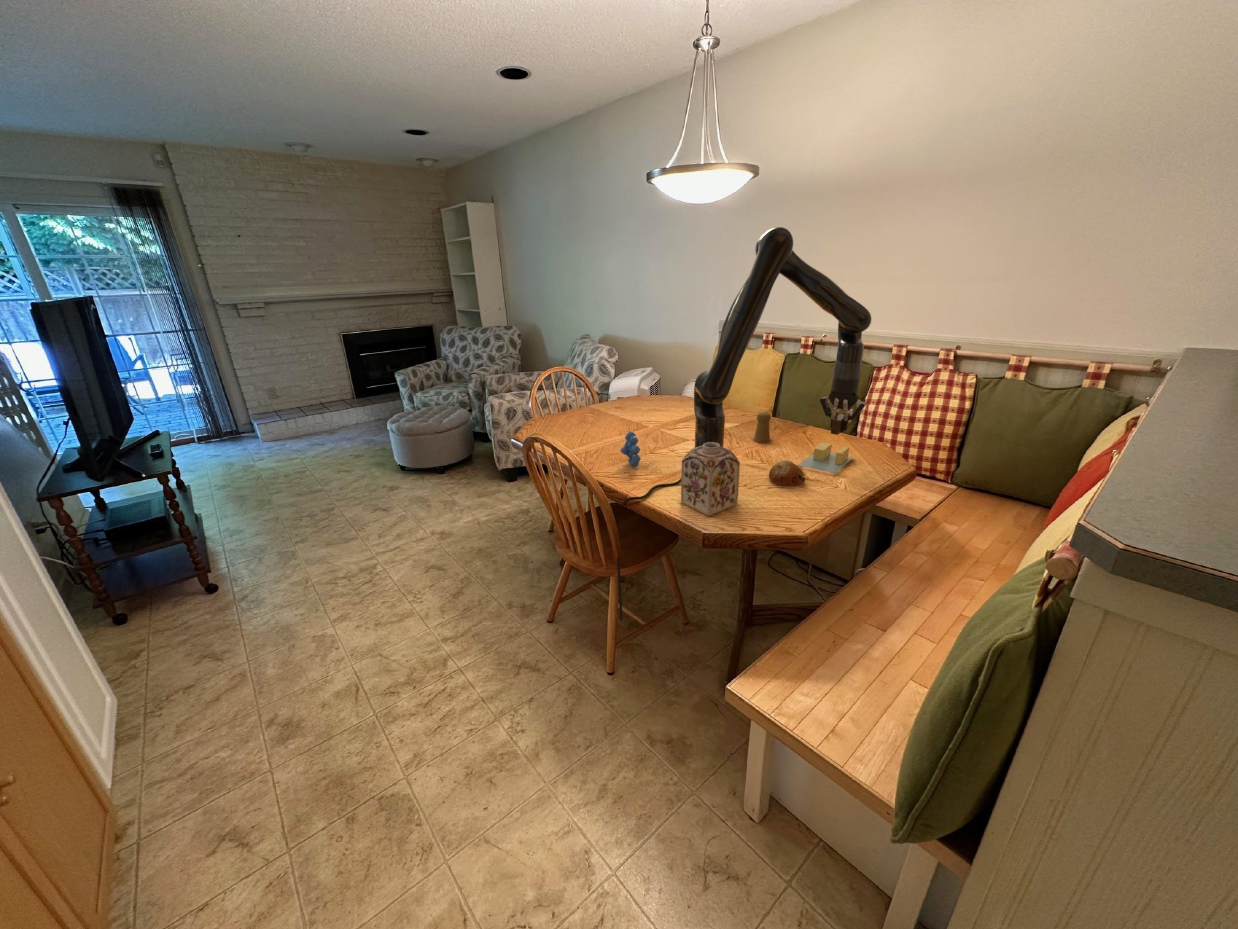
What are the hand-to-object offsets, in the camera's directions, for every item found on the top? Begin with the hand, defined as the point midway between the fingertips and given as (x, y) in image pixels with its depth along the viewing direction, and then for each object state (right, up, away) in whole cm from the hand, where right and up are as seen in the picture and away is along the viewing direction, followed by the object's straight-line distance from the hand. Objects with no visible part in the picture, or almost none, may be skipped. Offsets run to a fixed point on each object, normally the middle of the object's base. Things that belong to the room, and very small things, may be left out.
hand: (838, 430), depth 150 cm
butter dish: (+1, -10, +12) cm, 16 cm away
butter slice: (+6, -9, +11) cm, 16 cm away
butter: (+1, -8, +15) cm, 17 cm away
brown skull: (-16, -16, 0) cm, 23 cm away
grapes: (-65, -11, +16) cm, 68 cm away
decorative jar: (-43, -22, -14) cm, 51 cm away
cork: (-13, -1, +37) cm, 39 cm away
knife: (+3, +1, +3) cm, 5 cm away
